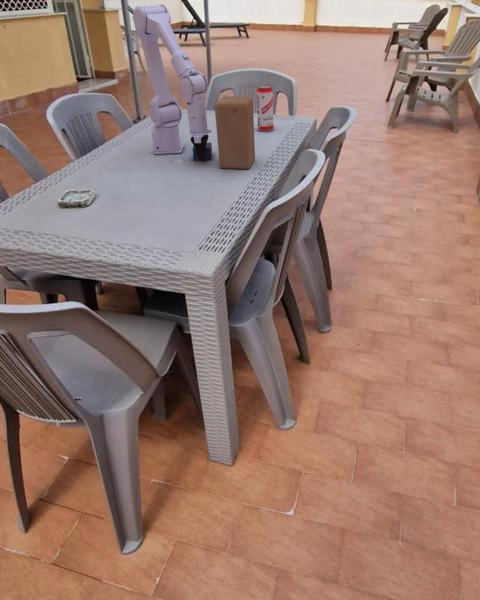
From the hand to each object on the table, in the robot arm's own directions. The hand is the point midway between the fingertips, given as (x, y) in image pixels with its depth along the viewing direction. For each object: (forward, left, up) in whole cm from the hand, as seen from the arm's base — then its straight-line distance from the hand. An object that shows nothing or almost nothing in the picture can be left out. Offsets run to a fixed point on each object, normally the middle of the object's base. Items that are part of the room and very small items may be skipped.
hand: (201, 158), depth 154 cm
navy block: (0, +4, -1) cm, 5 cm away
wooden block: (+12, -4, -1) cm, 13 cm away
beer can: (+23, +35, -1) cm, 42 cm away
